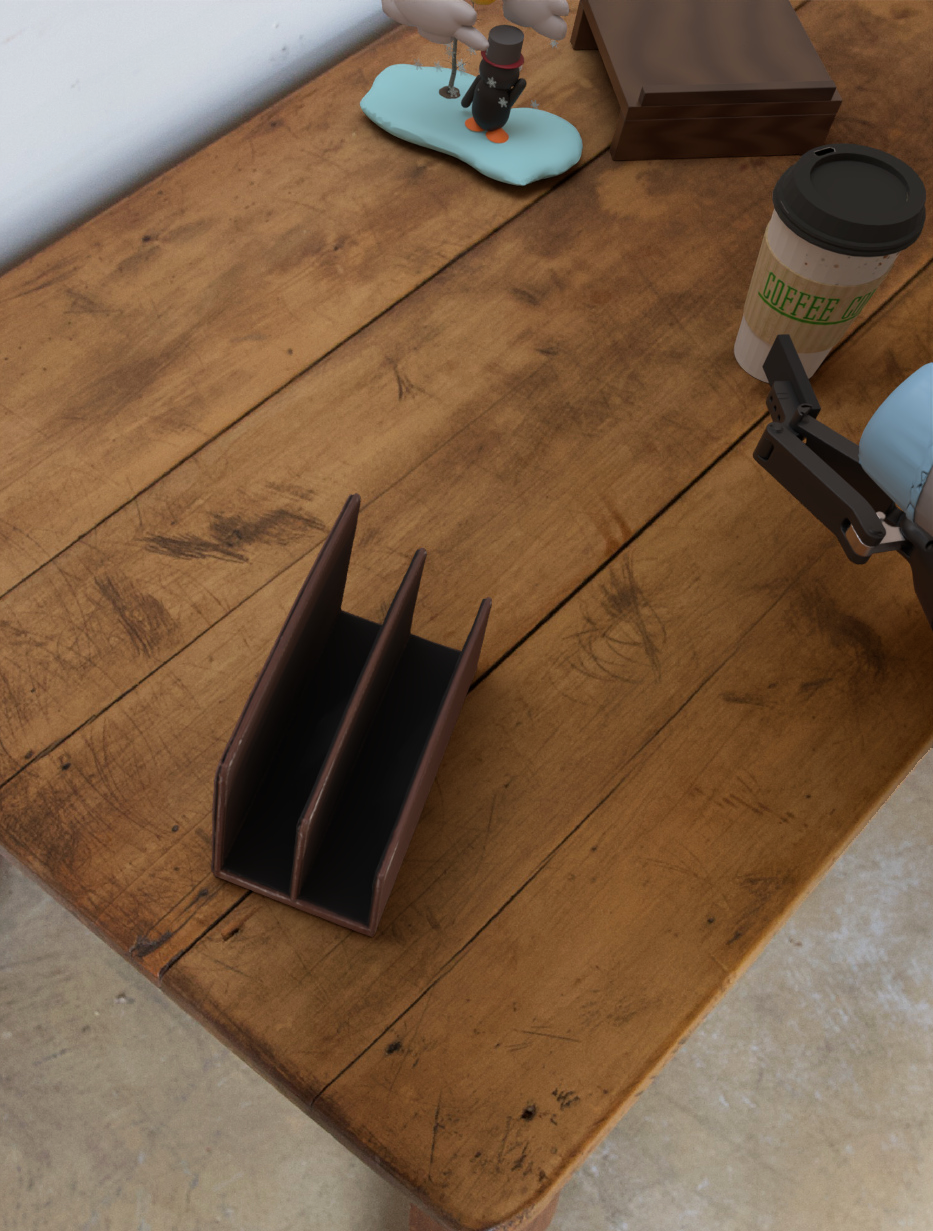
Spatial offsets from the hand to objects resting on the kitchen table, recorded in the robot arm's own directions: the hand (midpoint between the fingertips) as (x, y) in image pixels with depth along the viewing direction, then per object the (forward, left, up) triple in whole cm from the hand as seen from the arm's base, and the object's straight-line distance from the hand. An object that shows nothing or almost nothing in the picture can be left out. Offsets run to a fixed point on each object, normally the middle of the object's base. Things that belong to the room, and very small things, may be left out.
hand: (878, 345), depth 81 cm
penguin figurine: (+19, -38, -10) cm, 44 cm away
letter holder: (+36, +23, -10) cm, 44 cm away
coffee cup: (0, -10, -10) cm, 14 cm away
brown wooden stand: (-2, -43, -10) cm, 44 cm away
